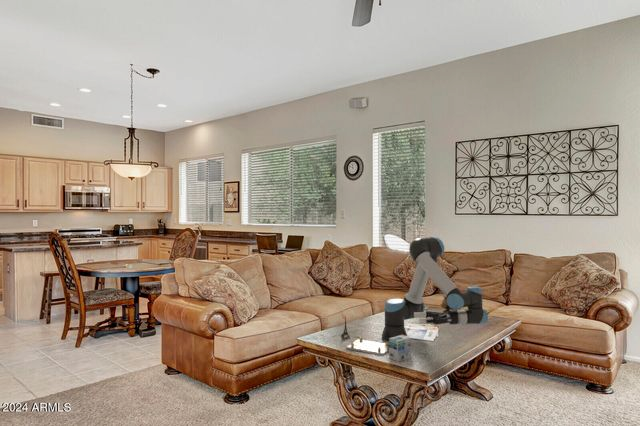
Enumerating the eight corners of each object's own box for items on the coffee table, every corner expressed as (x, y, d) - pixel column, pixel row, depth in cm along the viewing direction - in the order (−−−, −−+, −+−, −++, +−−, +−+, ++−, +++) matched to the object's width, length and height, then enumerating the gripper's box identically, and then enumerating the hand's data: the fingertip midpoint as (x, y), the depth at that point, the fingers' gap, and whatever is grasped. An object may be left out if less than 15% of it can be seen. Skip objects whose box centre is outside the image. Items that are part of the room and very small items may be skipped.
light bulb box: (397, 361, 224) (397, 341, 224) (388, 358, 230) (388, 337, 229) (412, 357, 231) (412, 337, 230) (402, 354, 236) (402, 334, 236)
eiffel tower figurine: (361, 338, 265) (361, 316, 264) (351, 342, 257) (350, 320, 257) (341, 333, 275) (341, 312, 274) (331, 337, 267) (331, 316, 267)
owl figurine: (435, 314, 319) (435, 291, 319) (446, 312, 326) (446, 290, 326) (456, 320, 304) (456, 295, 304) (466, 317, 311) (466, 293, 311)
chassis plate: (357, 341, 258) (357, 335, 258) (393, 346, 248) (393, 341, 247) (346, 349, 244) (346, 343, 244) (383, 355, 234) (383, 349, 233)
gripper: (464, 330, 218) (422, 331, 218) (450, 318, 243) (412, 319, 243) (464, 315, 218) (422, 316, 218) (449, 305, 243) (411, 306, 243)
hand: (416, 318), depth 230 cm, fingers open, 13 cm apart
